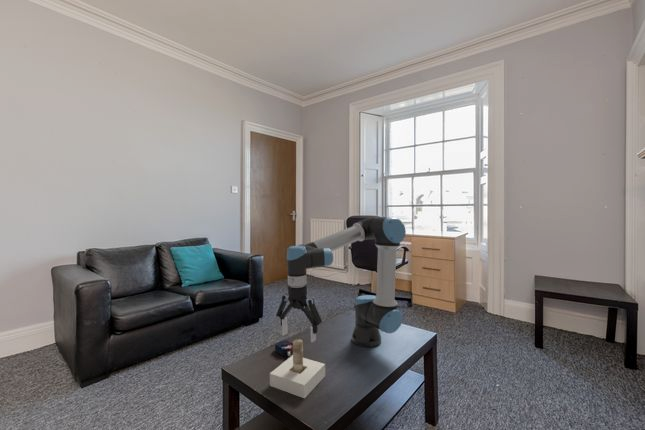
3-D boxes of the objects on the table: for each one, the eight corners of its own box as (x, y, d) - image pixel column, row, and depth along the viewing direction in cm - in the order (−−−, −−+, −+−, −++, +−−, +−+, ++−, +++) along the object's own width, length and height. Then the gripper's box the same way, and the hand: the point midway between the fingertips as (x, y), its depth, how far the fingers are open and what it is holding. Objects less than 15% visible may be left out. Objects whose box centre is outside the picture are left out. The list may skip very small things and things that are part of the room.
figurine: (291, 354, 130) (271, 343, 141) (291, 363, 130) (272, 352, 141) (306, 347, 136) (286, 337, 147) (306, 356, 137) (286, 345, 147)
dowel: (296, 376, 120) (296, 338, 119) (305, 379, 118) (304, 340, 117) (291, 382, 116) (290, 342, 116) (299, 385, 114) (299, 344, 114)
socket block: (293, 365, 128) (293, 354, 128) (325, 375, 120) (325, 364, 120) (270, 385, 114) (269, 373, 114) (304, 398, 106) (304, 385, 106)
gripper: (266, 284, 119) (268, 335, 120) (320, 291, 107) (321, 348, 108) (277, 279, 125) (279, 327, 126) (329, 286, 113) (330, 339, 114)
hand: (298, 337), depth 117 cm, fingers open, 13 cm apart
